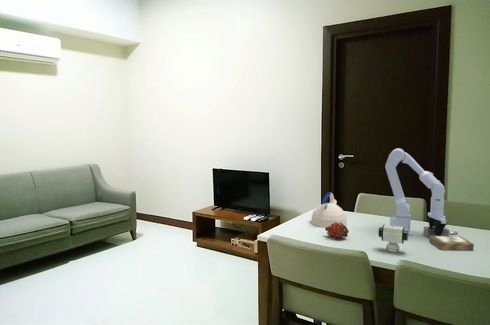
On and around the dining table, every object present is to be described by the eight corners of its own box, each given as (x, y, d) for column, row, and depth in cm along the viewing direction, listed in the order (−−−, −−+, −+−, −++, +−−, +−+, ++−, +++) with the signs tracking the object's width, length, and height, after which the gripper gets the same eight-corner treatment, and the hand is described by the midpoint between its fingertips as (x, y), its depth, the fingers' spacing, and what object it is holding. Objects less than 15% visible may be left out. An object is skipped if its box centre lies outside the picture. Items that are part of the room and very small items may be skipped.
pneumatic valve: (379, 247, 158) (380, 221, 157) (407, 251, 153) (408, 225, 151) (377, 250, 154) (378, 224, 153) (406, 255, 148) (407, 228, 147)
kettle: (351, 221, 202) (352, 191, 201) (340, 230, 185) (341, 197, 183) (318, 217, 213) (318, 188, 211) (305, 225, 196) (305, 193, 194)
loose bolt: (448, 235, 175) (449, 231, 174) (445, 234, 177) (445, 230, 176) (459, 234, 176) (459, 230, 176) (455, 233, 178) (455, 229, 178)
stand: (440, 249, 154) (441, 242, 154) (429, 241, 165) (429, 235, 165) (473, 250, 153) (473, 243, 153) (459, 242, 164) (459, 235, 164)
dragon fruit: (349, 243, 168) (326, 242, 175) (352, 230, 174) (329, 229, 180) (344, 232, 164) (321, 232, 171) (347, 218, 170) (324, 219, 176)
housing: (427, 238, 171) (428, 227, 170) (423, 235, 176) (423, 224, 175) (448, 238, 170) (449, 227, 170) (443, 235, 175) (444, 224, 175)
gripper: (453, 210, 164) (451, 238, 166) (438, 204, 179) (437, 229, 180) (438, 210, 165) (436, 238, 166) (424, 204, 179) (423, 229, 180)
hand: (435, 233), depth 173 cm, fingers closed on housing, 5 cm apart
